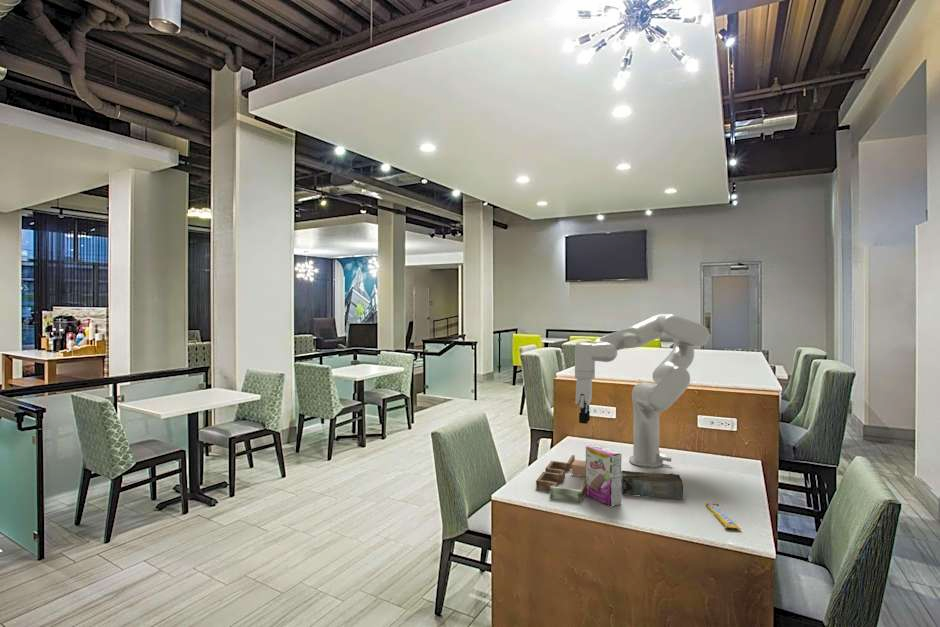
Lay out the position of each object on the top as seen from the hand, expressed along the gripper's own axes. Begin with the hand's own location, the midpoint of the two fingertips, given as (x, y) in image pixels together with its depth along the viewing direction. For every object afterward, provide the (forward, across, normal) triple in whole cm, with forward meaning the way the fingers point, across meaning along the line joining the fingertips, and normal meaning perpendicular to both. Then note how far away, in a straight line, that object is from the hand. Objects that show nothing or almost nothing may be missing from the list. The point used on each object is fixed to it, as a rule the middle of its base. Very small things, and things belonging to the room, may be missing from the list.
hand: (584, 421), depth 191 cm
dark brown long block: (+18, +19, +25) cm, 36 cm away
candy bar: (+18, +31, +45) cm, 58 cm away
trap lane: (+17, +17, -3) cm, 24 cm away
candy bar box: (+17, +31, +11) cm, 37 cm away
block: (+17, +9, 0) cm, 20 cm away
